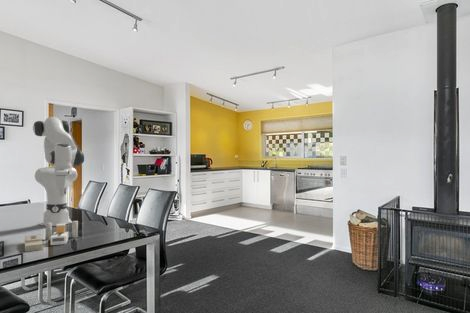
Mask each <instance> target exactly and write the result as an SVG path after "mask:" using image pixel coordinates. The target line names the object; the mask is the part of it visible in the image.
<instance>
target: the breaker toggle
mask: <svg viewBox="0 0 470 313" xmlns="http://www.w3.org/2000/svg"><path fill="white" fill-rule="evenodd" d="M55 228H56V229H55V230H56V231H55V232H56V233H65V232H66V224H57V225H56V226H55Z"/></svg>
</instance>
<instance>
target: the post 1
mask: <svg viewBox="0 0 470 313" xmlns="http://www.w3.org/2000/svg"><path fill="white" fill-rule="evenodd" d="M52 235H53V226H52V223H46V226H45V240H46V241H49V240H50V241H51V236H52Z"/></svg>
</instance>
